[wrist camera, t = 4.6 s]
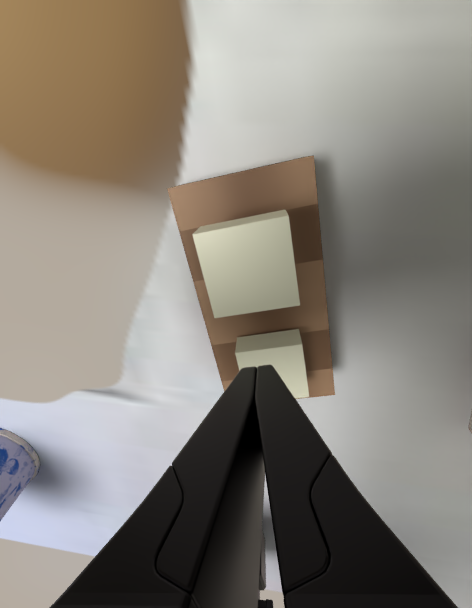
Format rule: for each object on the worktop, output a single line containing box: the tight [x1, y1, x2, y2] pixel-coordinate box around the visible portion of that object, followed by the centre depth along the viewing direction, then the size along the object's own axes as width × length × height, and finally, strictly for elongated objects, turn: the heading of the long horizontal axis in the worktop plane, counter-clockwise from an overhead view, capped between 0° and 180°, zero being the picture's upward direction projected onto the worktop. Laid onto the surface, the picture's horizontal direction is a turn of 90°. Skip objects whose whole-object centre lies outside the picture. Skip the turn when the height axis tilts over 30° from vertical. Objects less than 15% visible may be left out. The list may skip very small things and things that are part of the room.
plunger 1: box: [192, 210, 300, 318], centre depth 14 cm, size 4×4×5 cm
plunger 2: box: [235, 329, 309, 398], centre depth 19 cm, size 4×4×5 cm
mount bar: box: [167, 156, 335, 399], centre depth 18 cm, size 7×14×3 cm, turn 12°
